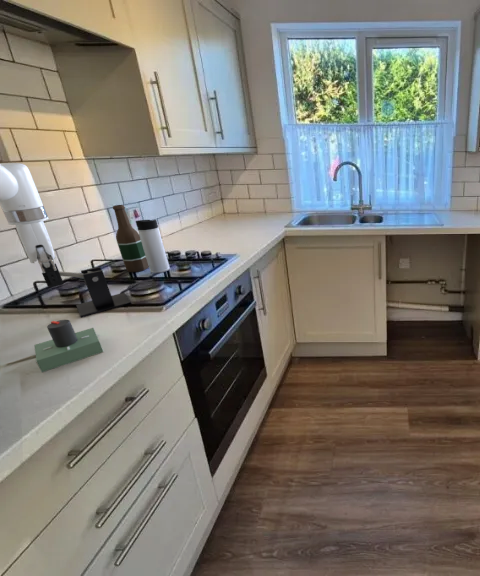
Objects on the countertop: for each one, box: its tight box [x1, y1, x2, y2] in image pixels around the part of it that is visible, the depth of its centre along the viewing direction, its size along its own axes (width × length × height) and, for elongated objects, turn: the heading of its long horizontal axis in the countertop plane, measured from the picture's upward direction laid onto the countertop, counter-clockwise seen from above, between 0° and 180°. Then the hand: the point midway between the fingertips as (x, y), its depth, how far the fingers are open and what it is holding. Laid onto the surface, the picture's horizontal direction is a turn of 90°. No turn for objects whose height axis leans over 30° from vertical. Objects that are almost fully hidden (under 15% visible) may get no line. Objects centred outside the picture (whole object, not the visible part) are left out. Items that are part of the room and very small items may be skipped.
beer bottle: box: [112, 204, 150, 273], centre depth 133 cm, size 8×8×24 cm
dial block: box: [34, 327, 104, 373], centre depth 84 cm, size 11×9×3 cm
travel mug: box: [135, 219, 171, 274], centre depth 129 cm, size 6×7×20 cm
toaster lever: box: [59, 270, 92, 279], centre depth 100 cm, size 11×6×2 cm, turn 135°
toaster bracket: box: [75, 266, 132, 319], centre depth 104 cm, size 12×10×12 cm
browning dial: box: [46, 319, 78, 347], centre depth 82 cm, size 4×4×5 cm
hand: (54, 281), depth 97 cm, fingers closed on toaster lever, 6 cm apart
